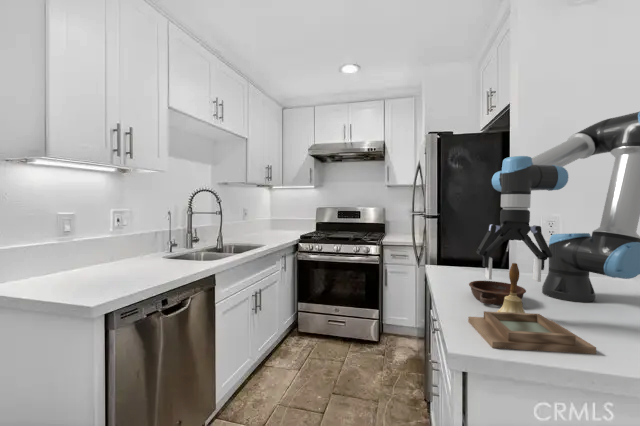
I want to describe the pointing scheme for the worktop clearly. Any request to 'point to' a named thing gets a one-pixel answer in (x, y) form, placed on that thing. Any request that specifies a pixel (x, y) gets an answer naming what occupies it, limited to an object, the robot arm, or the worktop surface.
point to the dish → (493, 291)
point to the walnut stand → (527, 333)
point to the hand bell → (512, 293)
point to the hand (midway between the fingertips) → (512, 279)
